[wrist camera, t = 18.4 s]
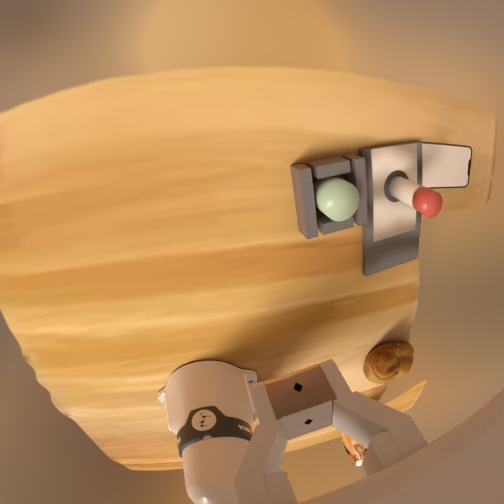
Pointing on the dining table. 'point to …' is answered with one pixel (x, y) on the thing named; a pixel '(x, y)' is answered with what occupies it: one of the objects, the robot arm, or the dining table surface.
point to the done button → (335, 197)
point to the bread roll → (388, 362)
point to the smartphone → (445, 165)
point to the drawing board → (390, 206)
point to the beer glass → (354, 450)
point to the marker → (416, 196)
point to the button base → (305, 194)
